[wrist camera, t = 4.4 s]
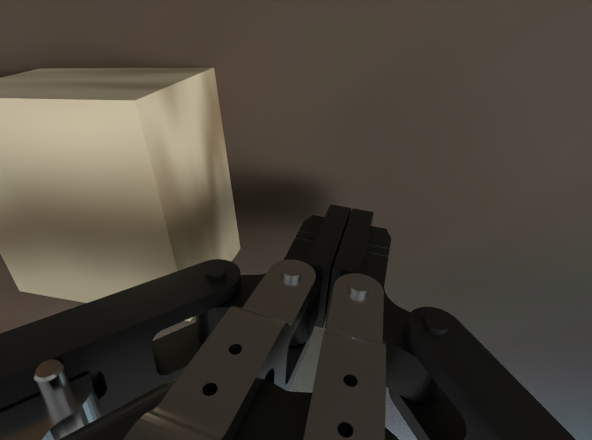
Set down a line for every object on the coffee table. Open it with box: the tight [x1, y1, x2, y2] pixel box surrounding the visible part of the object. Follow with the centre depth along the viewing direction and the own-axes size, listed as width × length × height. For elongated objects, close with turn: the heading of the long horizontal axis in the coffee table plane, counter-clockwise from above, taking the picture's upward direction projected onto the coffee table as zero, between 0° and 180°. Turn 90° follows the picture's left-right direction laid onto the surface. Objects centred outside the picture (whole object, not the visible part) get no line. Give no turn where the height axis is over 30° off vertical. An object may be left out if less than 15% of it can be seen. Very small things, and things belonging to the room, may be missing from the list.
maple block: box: [0, 67, 240, 321], centre depth 16 cm, size 8×8×5 cm
